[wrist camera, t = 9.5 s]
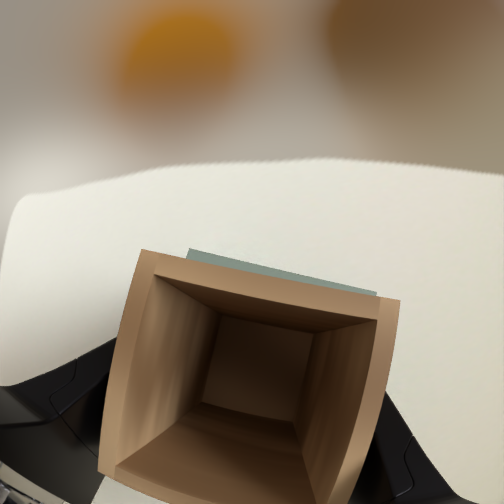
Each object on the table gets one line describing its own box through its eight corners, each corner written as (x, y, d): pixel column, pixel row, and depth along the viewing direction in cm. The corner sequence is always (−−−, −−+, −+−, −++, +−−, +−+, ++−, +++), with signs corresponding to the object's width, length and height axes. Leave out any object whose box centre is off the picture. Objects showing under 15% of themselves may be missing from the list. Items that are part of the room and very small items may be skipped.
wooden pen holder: (298, 428, 13) (333, 531, 4) (193, 404, 14) (97, 470, 5) (322, 327, 15) (400, 300, 6) (217, 305, 16) (141, 248, 6)
